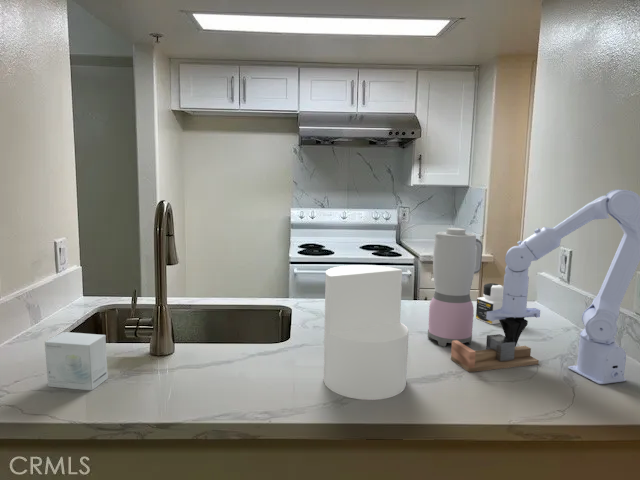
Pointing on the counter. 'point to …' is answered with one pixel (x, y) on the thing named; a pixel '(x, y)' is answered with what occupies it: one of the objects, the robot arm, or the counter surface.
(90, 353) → the skincare box
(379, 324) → the cylinder
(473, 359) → the rail board
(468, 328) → the blender
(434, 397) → the counter surface
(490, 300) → the medicine bottle
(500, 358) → the keeper
